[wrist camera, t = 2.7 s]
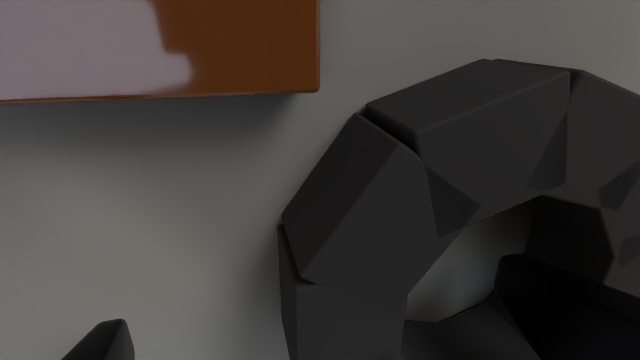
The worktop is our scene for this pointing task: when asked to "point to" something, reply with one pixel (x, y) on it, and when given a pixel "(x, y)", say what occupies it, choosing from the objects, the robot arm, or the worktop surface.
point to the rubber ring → (458, 207)
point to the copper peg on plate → (156, 49)
